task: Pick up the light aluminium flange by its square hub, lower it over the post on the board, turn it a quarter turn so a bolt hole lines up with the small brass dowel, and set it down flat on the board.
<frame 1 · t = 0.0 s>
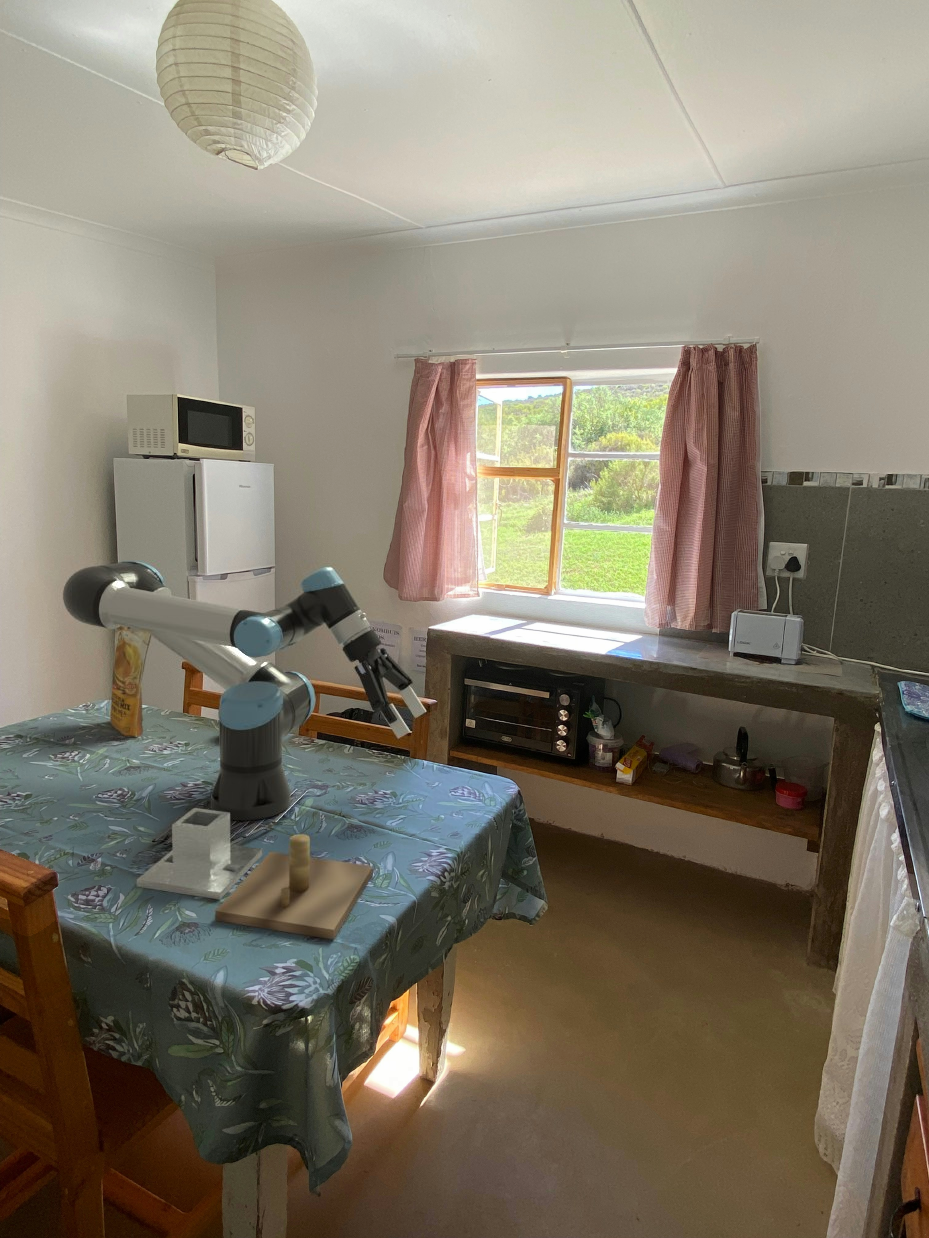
hand: (413, 724, 148), 15 cm above the table, tool tilted 35°, fingers open, 13 cm apart
post board: (299, 895, 112), on the table
flange: (202, 870, 118), on the table
cupcake: (242, 737, 180), on the table
pancake mix bag: (129, 728, 182), on the table
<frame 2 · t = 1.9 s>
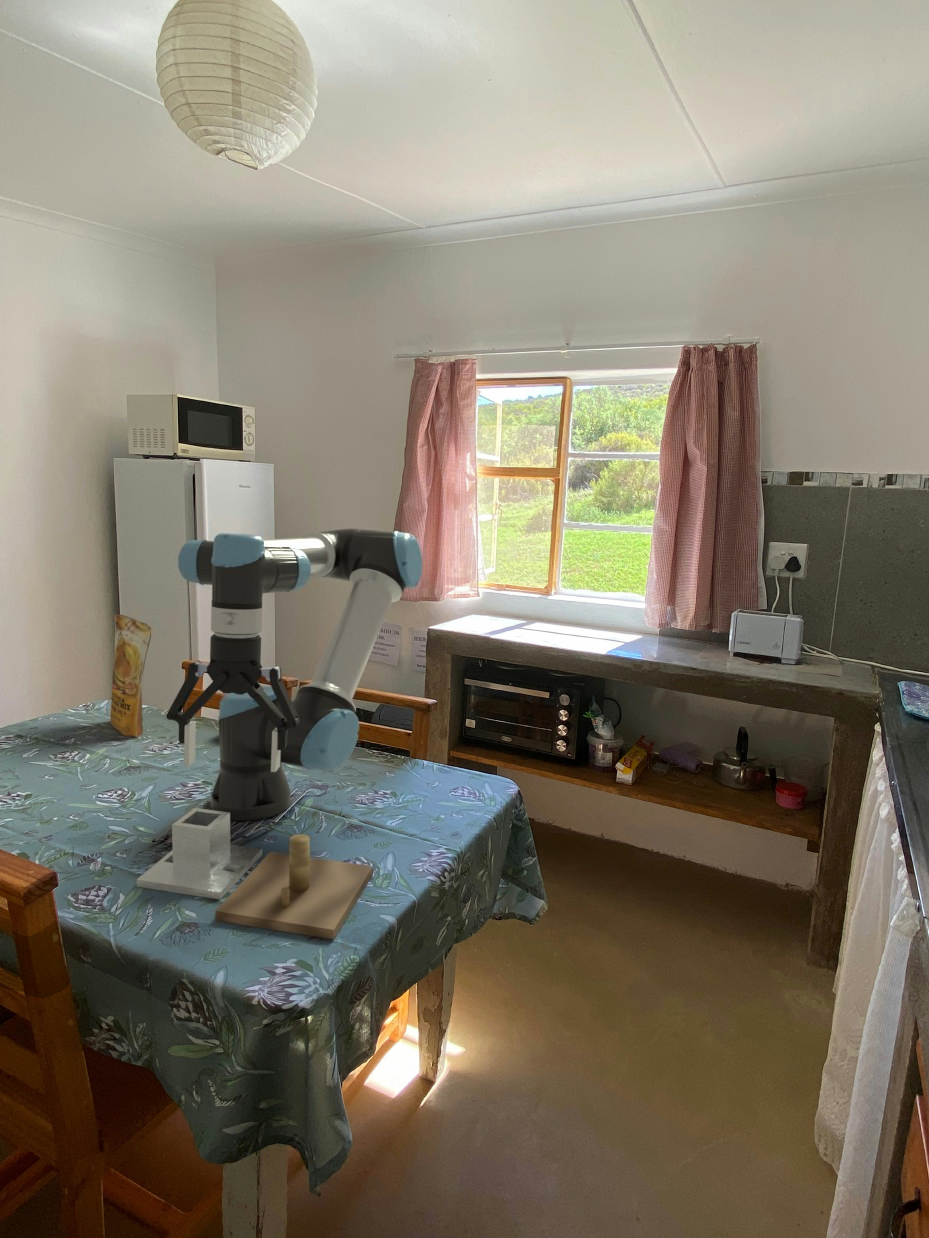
hand: (232, 766, 115), 18 cm above the table, tool pointing down, fingers open, 13 cm apart
nothing on the table moved.
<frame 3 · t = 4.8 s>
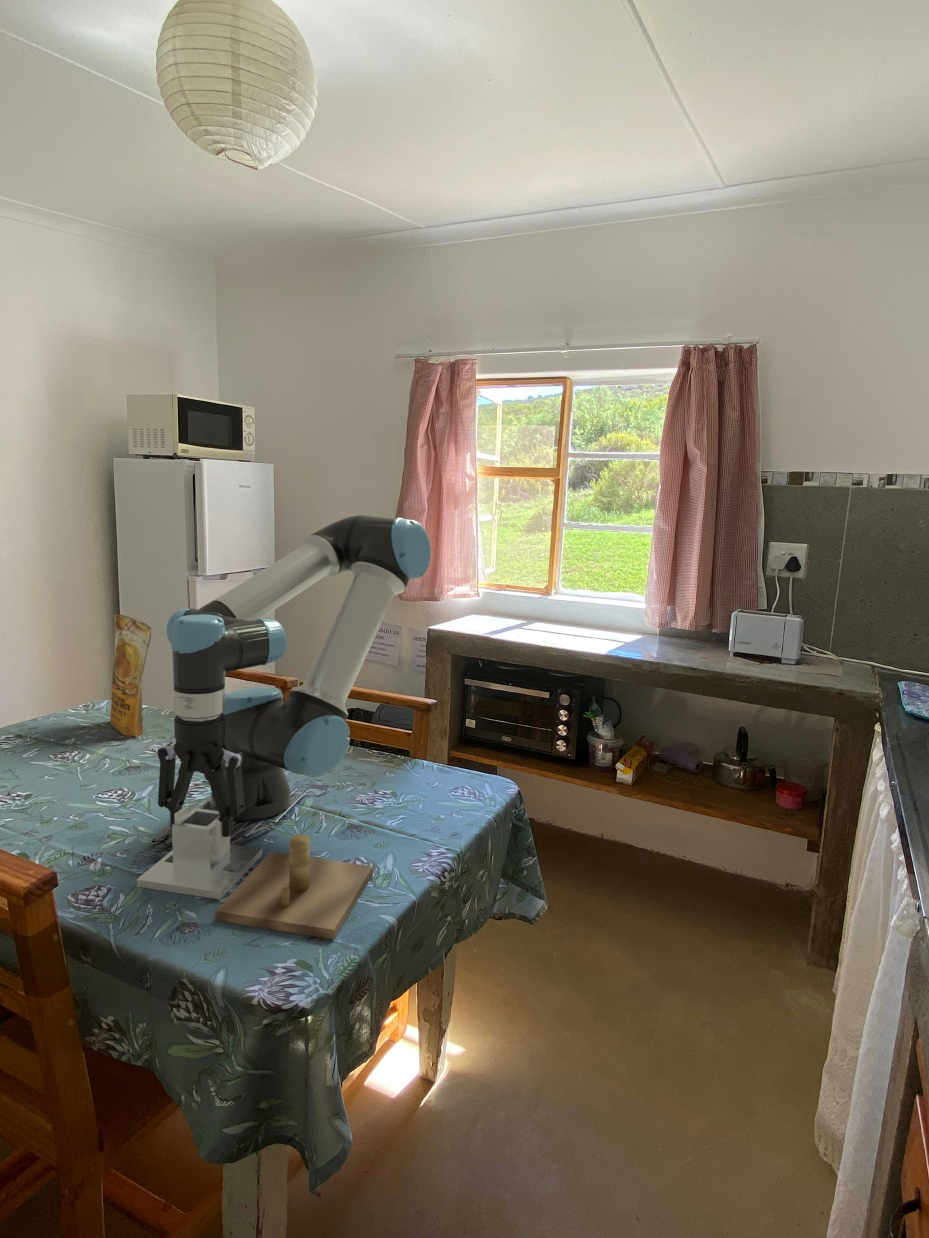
hand: (202, 850, 117), 3 cm above the table, tool pointing down, fingers closed on flange, 6 cm apart
flange: (202, 870, 118), on the table, touching gripper
everything else where it was.
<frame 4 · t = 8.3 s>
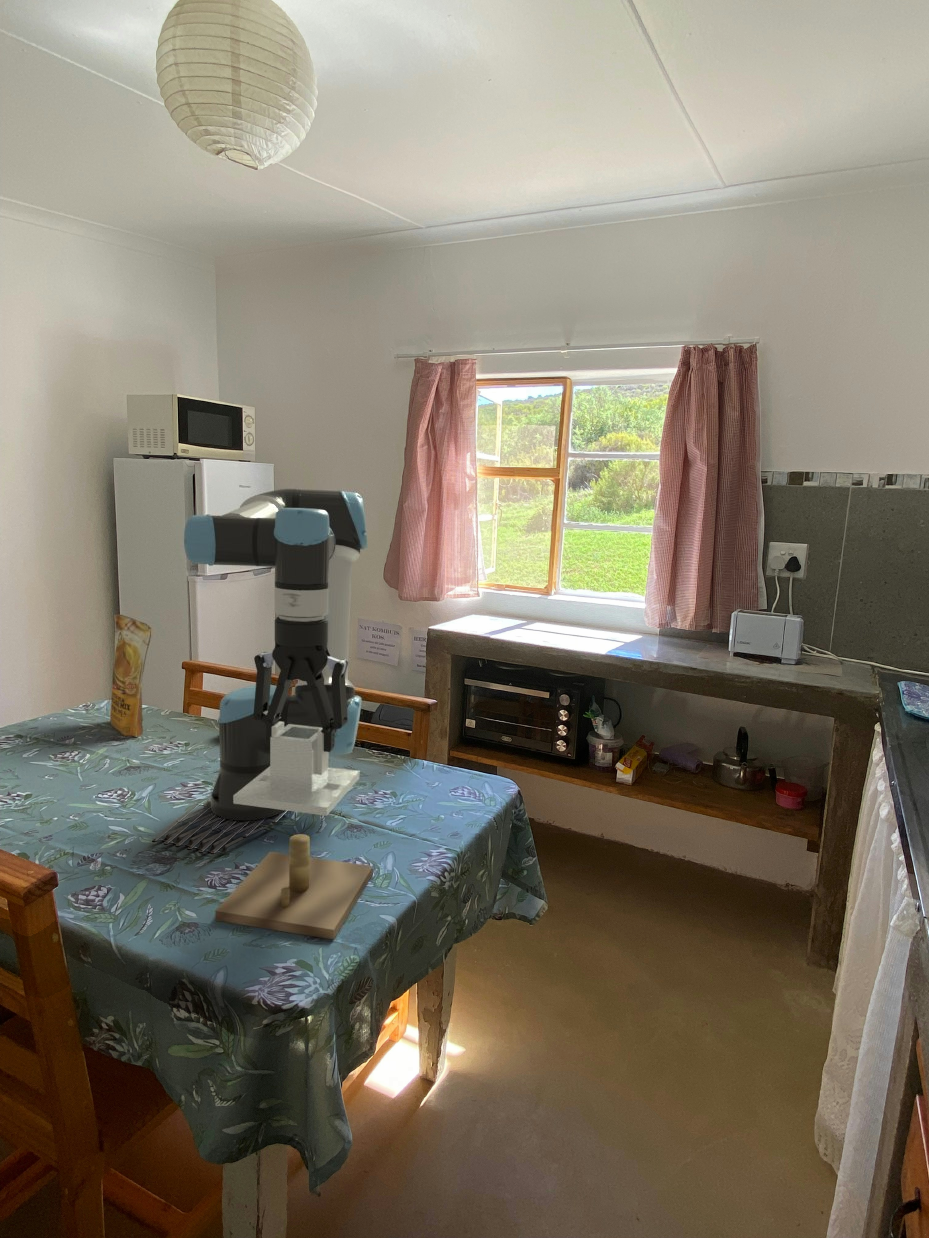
hand: (300, 768, 108), 21 cm above the table, tool pointing down, fingers closed on flange, 6 cm apart
flange: (299, 790, 108), point 18 cm above the table, touching gripper
everything else where it was.
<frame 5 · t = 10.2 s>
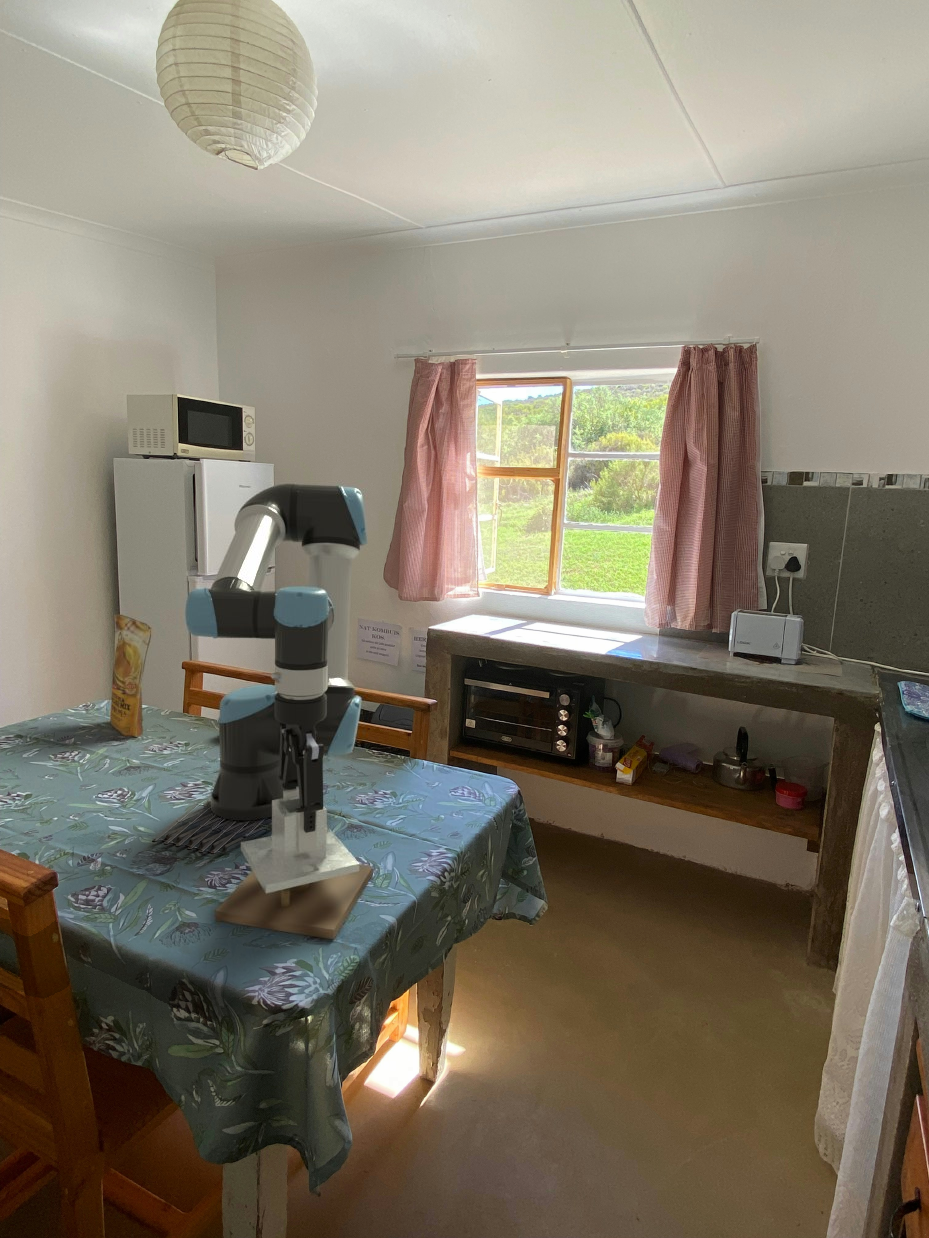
hand: (299, 838, 110), 10 cm above the table, tool pointing down, fingers closed on flange, 6 cm apart
flange: (298, 859, 111), point 6 cm above the table, touching gripper
everything else where it was.
when the fingers open (6 cm above the table, at t = 11.9 s): flange stays where it is, resting on post board.
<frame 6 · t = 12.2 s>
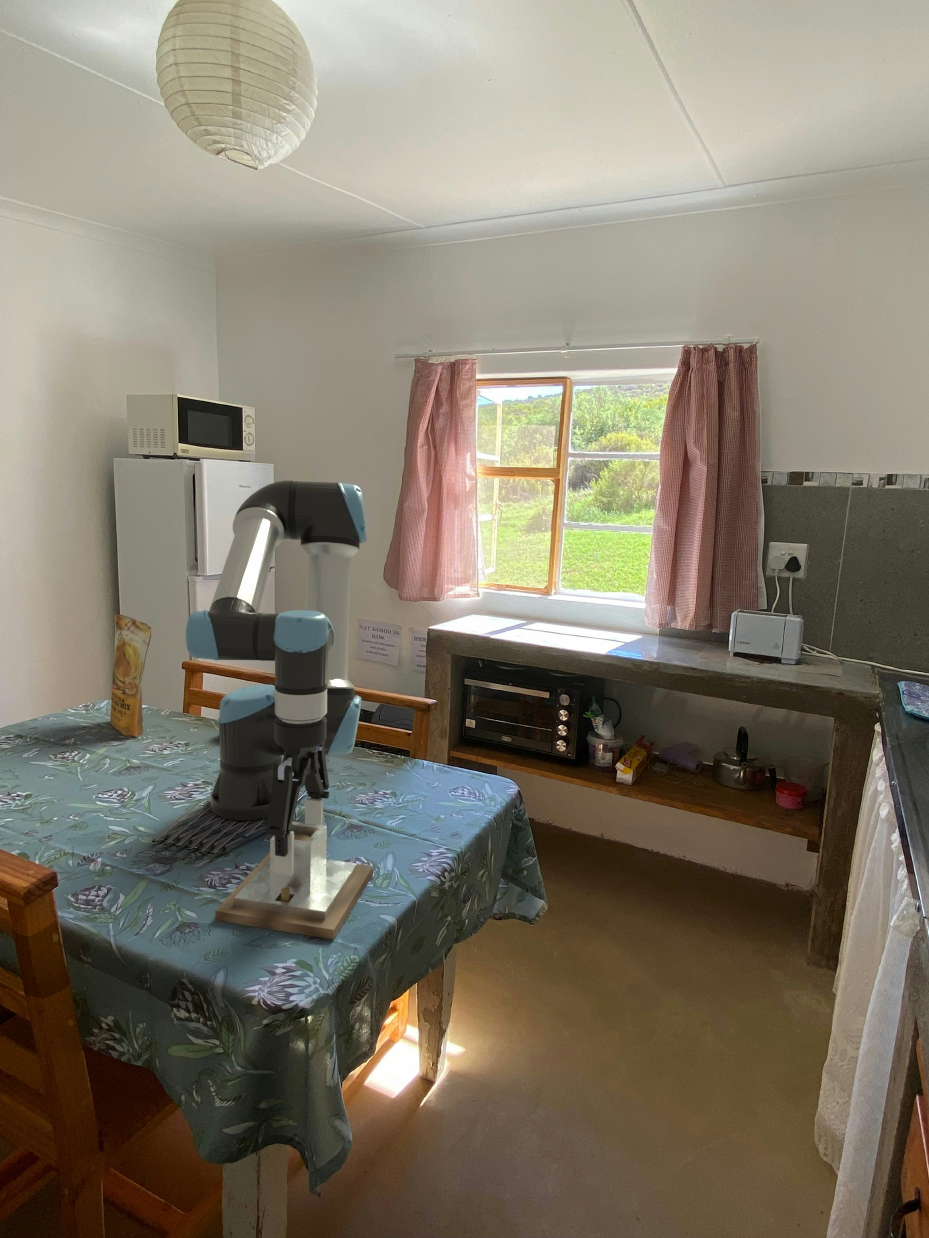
hand: (299, 854, 111), 7 cm above the table, tool pointing down, fingers open, 10 cm apart
flange: (298, 886, 112), point 1 cm above the table, touching post board
everything else where it was.
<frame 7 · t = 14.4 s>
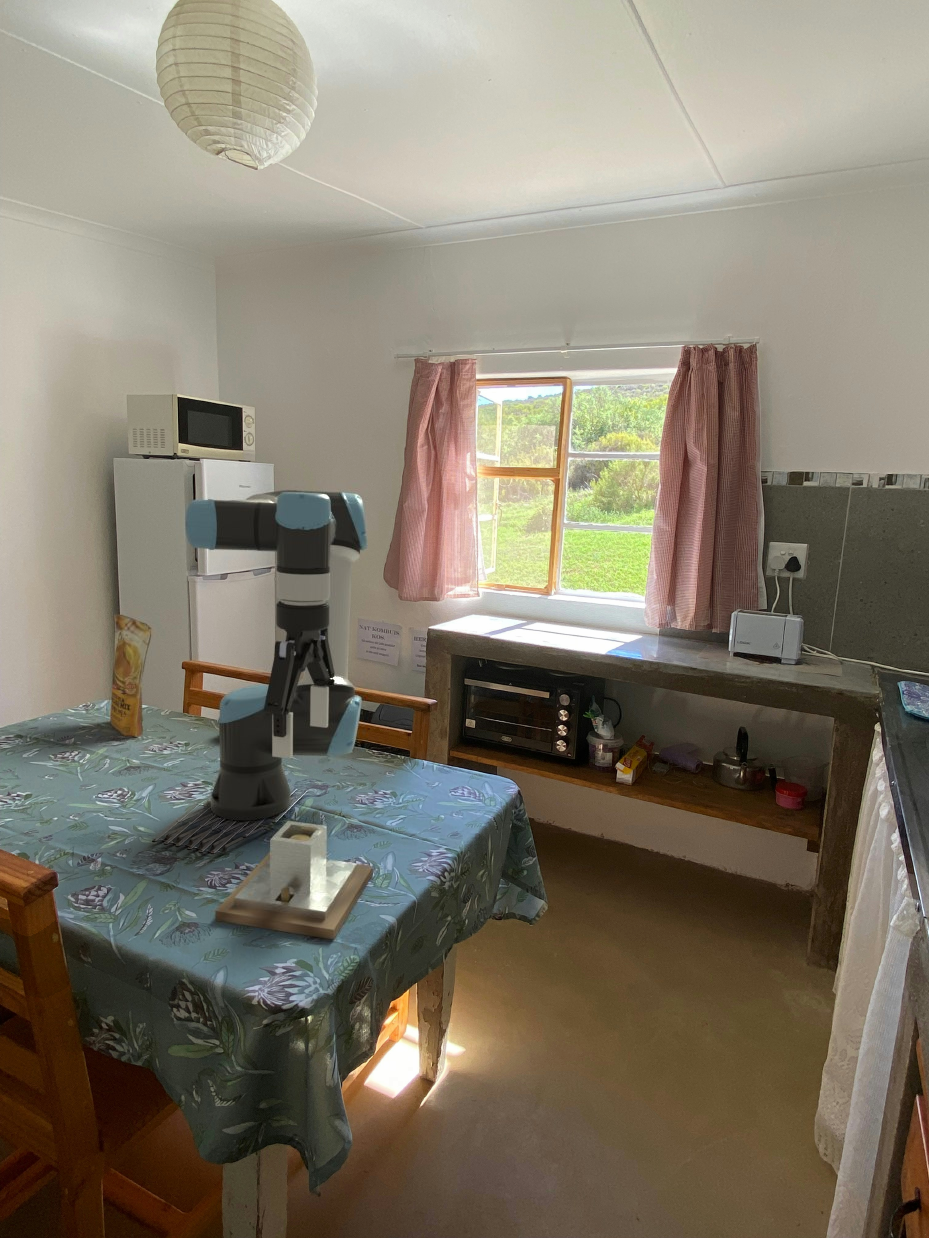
hand: (301, 740, 108), 25 cm above the table, tool pointing down, fingers open, 13 cm apart
nothing on the table moved.
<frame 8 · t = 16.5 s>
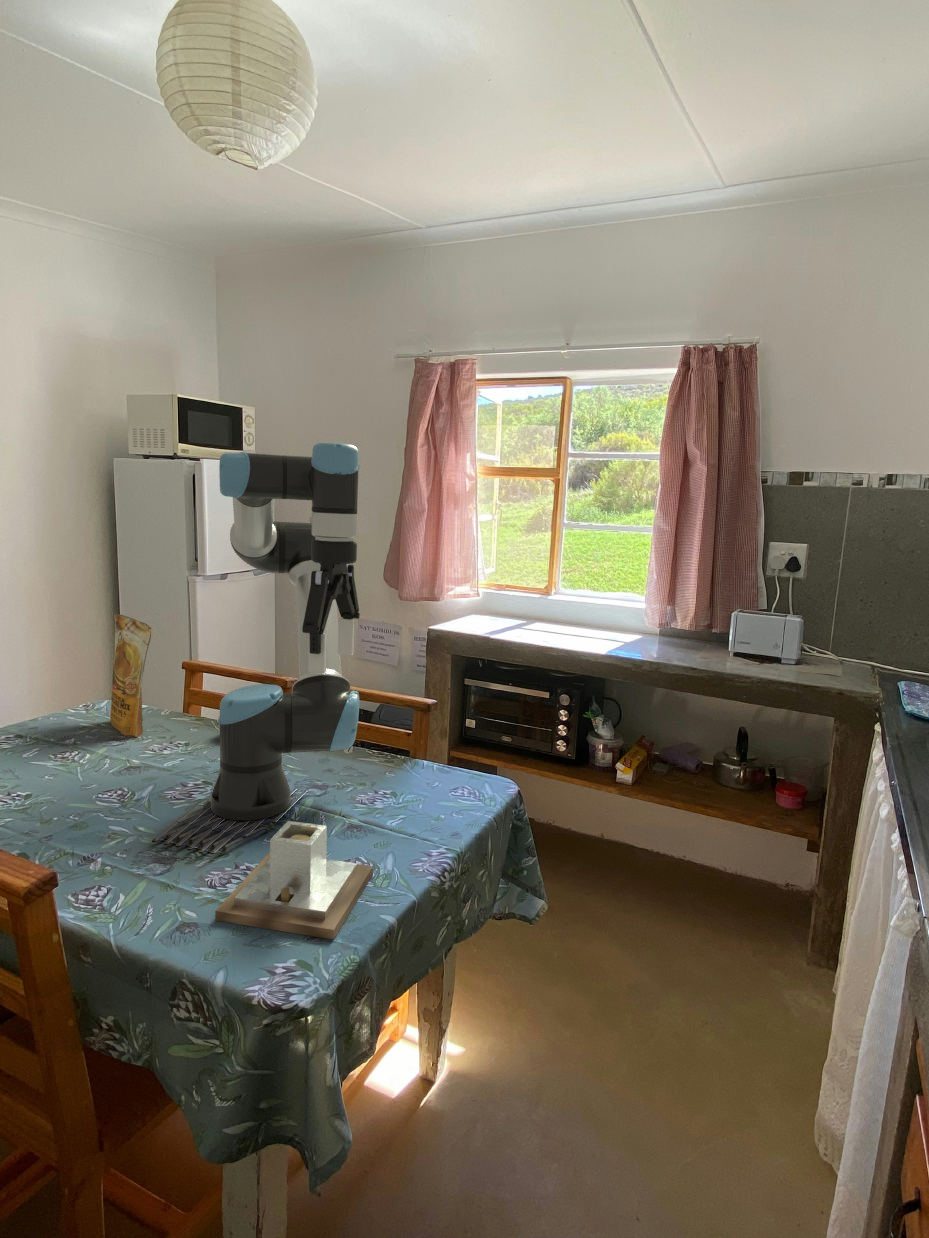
hand: (332, 663, 124), 33 cm above the table, tool pointing down, fingers open, 13 cm apart
nothing on the table moved.
at the end: flange 0.1 cm off-centre on the post board, point 1.5 cm above the post board's base; flange tilted 0°; the gripper is holding nothing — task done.
